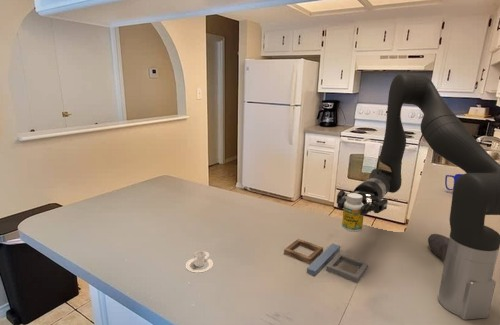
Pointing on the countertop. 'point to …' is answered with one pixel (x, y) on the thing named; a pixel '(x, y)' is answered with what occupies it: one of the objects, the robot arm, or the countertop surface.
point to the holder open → (345, 274)
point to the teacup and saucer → (199, 261)
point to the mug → (454, 179)
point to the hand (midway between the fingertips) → (350, 208)
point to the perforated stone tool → (438, 245)
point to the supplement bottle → (352, 213)
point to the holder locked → (299, 256)
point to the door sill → (323, 259)
